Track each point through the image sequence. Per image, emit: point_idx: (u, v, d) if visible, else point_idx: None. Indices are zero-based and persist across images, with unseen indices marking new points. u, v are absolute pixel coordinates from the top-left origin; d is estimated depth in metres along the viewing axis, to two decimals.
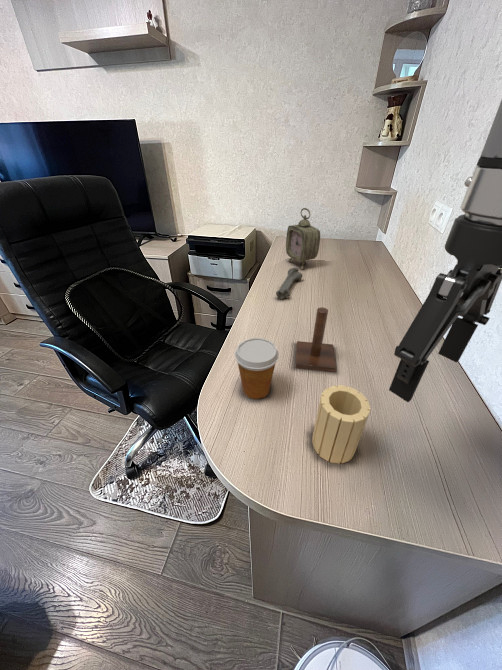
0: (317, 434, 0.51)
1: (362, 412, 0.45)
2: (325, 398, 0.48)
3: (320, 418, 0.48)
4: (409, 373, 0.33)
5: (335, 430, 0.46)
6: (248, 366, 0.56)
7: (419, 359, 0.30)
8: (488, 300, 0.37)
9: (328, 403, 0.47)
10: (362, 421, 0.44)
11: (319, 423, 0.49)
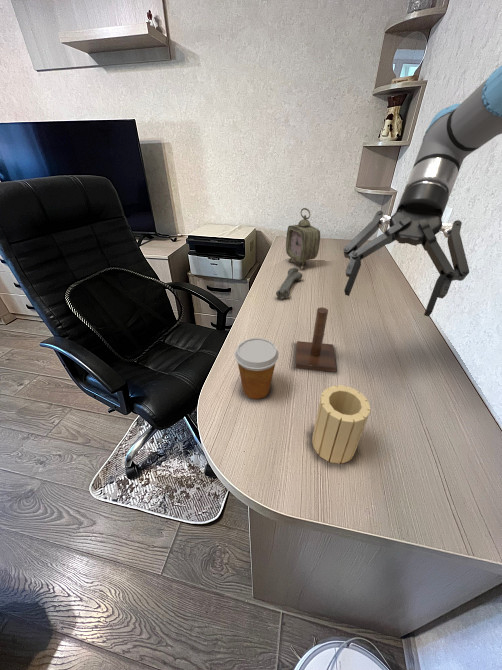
0: (317, 434, 0.51)
1: (362, 412, 0.45)
2: (325, 398, 0.48)
3: (320, 418, 0.48)
4: None
5: (335, 430, 0.46)
6: (248, 366, 0.56)
7: (347, 247, 0.52)
8: (456, 258, 0.45)
9: (328, 403, 0.47)
10: (362, 421, 0.44)
11: (319, 423, 0.49)
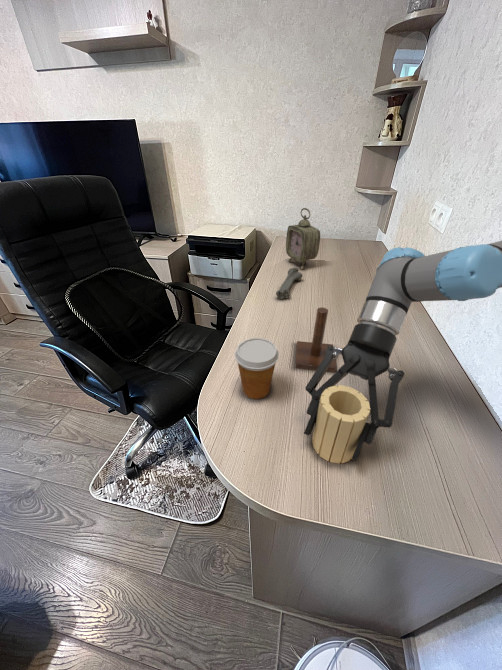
0: (317, 434, 0.51)
1: (362, 412, 0.45)
2: (325, 398, 0.48)
3: (320, 418, 0.48)
4: (309, 405, 0.52)
5: (335, 429, 0.46)
6: (248, 366, 0.56)
7: (308, 386, 0.52)
8: (386, 407, 0.47)
9: (328, 403, 0.47)
10: (362, 421, 0.44)
11: (319, 423, 0.49)
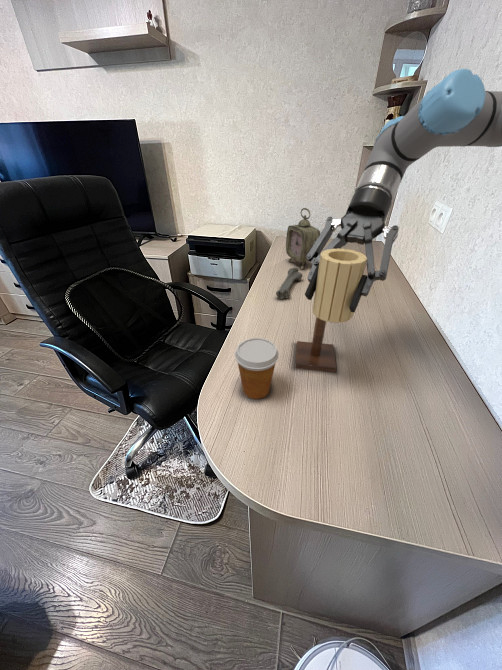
0: (317, 295, 0.54)
1: (359, 259, 0.49)
2: (325, 254, 0.51)
3: (320, 273, 0.51)
4: (309, 272, 0.56)
5: (334, 277, 0.49)
6: (248, 366, 0.56)
7: (309, 254, 0.56)
8: (382, 258, 0.50)
9: (327, 256, 0.50)
10: (359, 265, 0.48)
11: (319, 280, 0.52)
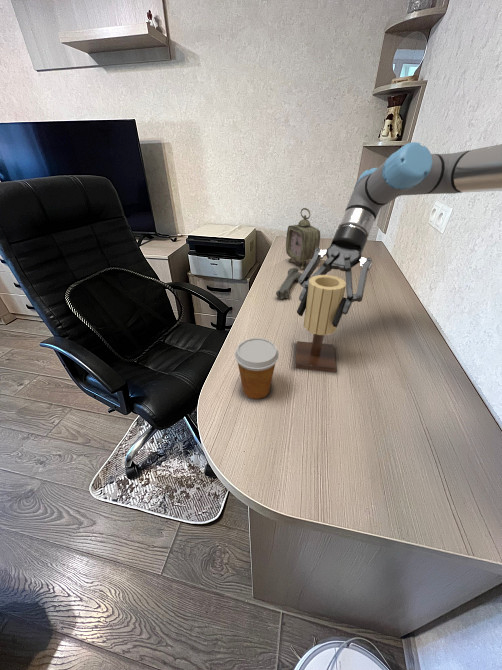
0: (307, 312, 0.66)
1: (339, 285, 0.61)
2: (312, 280, 0.63)
3: (309, 296, 0.64)
4: (301, 293, 0.68)
5: (319, 299, 0.61)
6: (248, 366, 0.56)
7: (300, 279, 0.68)
8: (358, 284, 0.62)
9: (314, 282, 0.62)
10: (339, 290, 0.60)
11: (308, 301, 0.64)
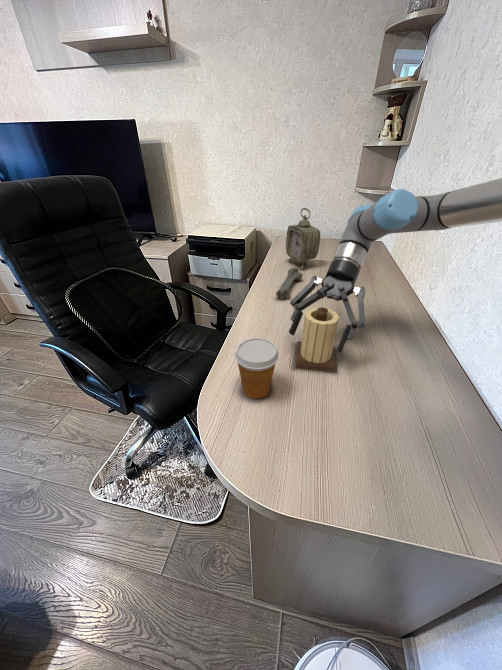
0: (303, 342, 0.71)
1: (333, 319, 0.66)
2: (308, 313, 0.68)
3: (305, 328, 0.69)
4: None
5: (315, 332, 0.66)
6: (248, 366, 0.56)
7: (292, 301, 0.73)
8: (359, 313, 0.66)
9: (310, 315, 0.67)
10: (332, 324, 0.65)
11: (304, 332, 0.69)
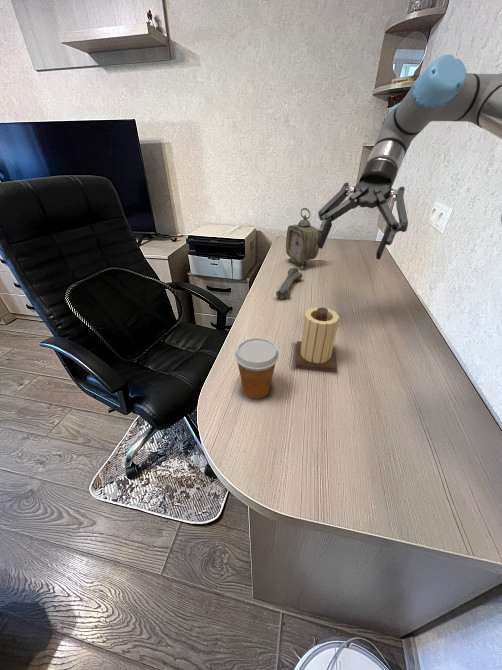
0: (303, 342, 0.71)
1: (333, 319, 0.66)
2: (308, 313, 0.68)
3: (305, 328, 0.69)
4: (321, 225, 0.67)
5: (315, 332, 0.66)
6: (248, 366, 0.56)
7: (320, 211, 0.68)
8: (399, 214, 0.60)
9: (310, 315, 0.67)
10: (332, 324, 0.65)
11: (304, 332, 0.69)
